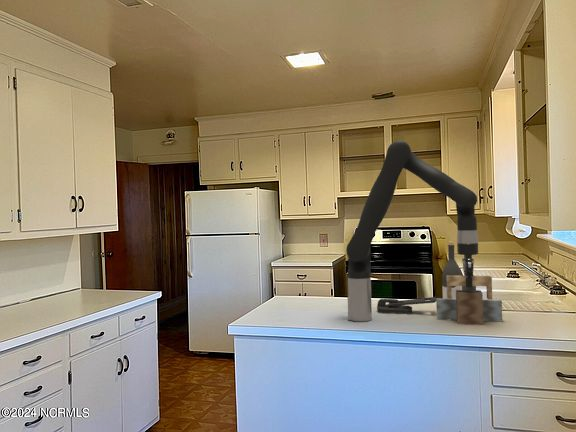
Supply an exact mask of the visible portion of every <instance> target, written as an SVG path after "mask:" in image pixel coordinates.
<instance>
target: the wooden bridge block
mask: <svg viewBox="0 0 576 432" xmlns="http://www.w3.org/2000/svg"><path fill="white" fill-rule="evenodd" d="M451 286H462V292H476V290H477V287H486V300H493V277H492V276H491V275H473V278H472V287H466V277H465V275H462V276H461V275H447V298H449V299H452V292H451Z"/></svg>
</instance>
